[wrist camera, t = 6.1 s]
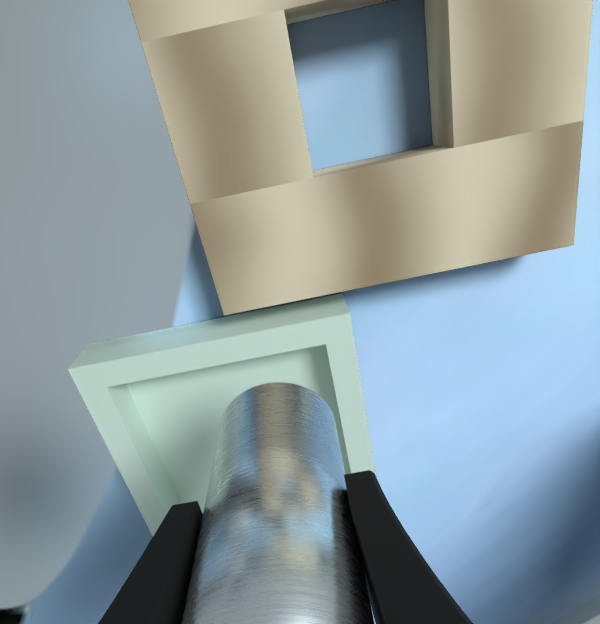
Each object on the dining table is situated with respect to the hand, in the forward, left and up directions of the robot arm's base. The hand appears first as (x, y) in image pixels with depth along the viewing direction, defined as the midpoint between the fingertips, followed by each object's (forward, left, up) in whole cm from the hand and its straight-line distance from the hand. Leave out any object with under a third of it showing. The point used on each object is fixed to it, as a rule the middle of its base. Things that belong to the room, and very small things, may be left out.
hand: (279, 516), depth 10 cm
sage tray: (+3, +5, -10) cm, 12 cm away
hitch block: (-5, -9, -10) cm, 15 cm away
